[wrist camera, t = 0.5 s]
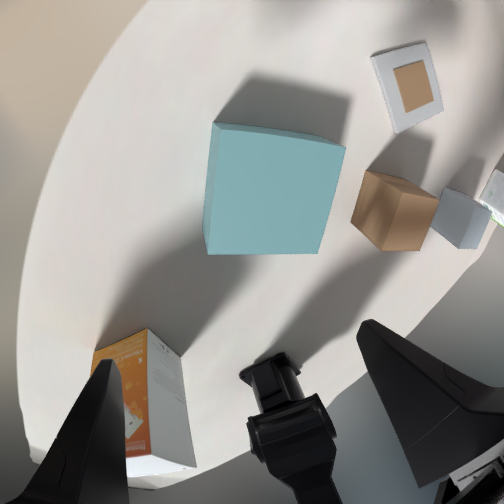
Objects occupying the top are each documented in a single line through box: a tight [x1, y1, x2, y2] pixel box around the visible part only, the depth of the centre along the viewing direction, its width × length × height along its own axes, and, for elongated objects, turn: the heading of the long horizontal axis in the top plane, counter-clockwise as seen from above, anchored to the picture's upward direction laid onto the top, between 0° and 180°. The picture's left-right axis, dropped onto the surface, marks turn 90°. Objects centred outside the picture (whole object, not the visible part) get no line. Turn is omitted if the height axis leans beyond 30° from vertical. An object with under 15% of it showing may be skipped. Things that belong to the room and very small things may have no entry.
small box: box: [90, 328, 197, 477], centre depth 22 cm, size 8×6×13 cm
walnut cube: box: [351, 171, 439, 251], centre depth 22 cm, size 5×5×5 cm
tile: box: [370, 43, 444, 134], centre depth 18 cm, size 7×7×1 cm
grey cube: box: [430, 187, 492, 249], centre depth 25 cm, size 5×5×5 cm
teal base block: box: [202, 122, 346, 255], centre depth 19 cm, size 8×8×4 cm
